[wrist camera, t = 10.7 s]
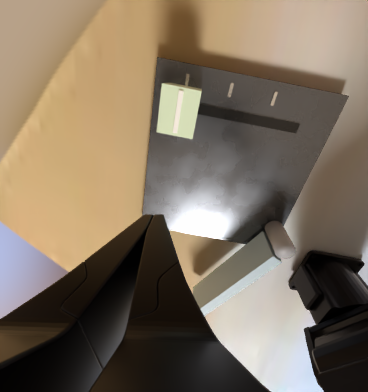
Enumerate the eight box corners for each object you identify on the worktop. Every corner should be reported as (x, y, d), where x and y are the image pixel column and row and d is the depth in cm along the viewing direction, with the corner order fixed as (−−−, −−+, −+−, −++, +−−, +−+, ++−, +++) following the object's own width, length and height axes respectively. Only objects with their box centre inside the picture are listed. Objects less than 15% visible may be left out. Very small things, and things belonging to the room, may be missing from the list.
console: (341, 95, 17) (350, 96, 16) (269, 243, 25) (272, 249, 24) (159, 58, 17) (157, 56, 16) (143, 219, 25) (141, 225, 24)
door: (274, 217, 22) (287, 242, 18) (286, 226, 22) (301, 252, 19) (191, 285, 28) (190, 313, 24) (202, 291, 28) (202, 319, 25)
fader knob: (201, 88, 17) (201, 91, 13) (194, 127, 18) (192, 139, 14) (170, 82, 16) (161, 83, 13) (165, 122, 18) (156, 132, 14)
